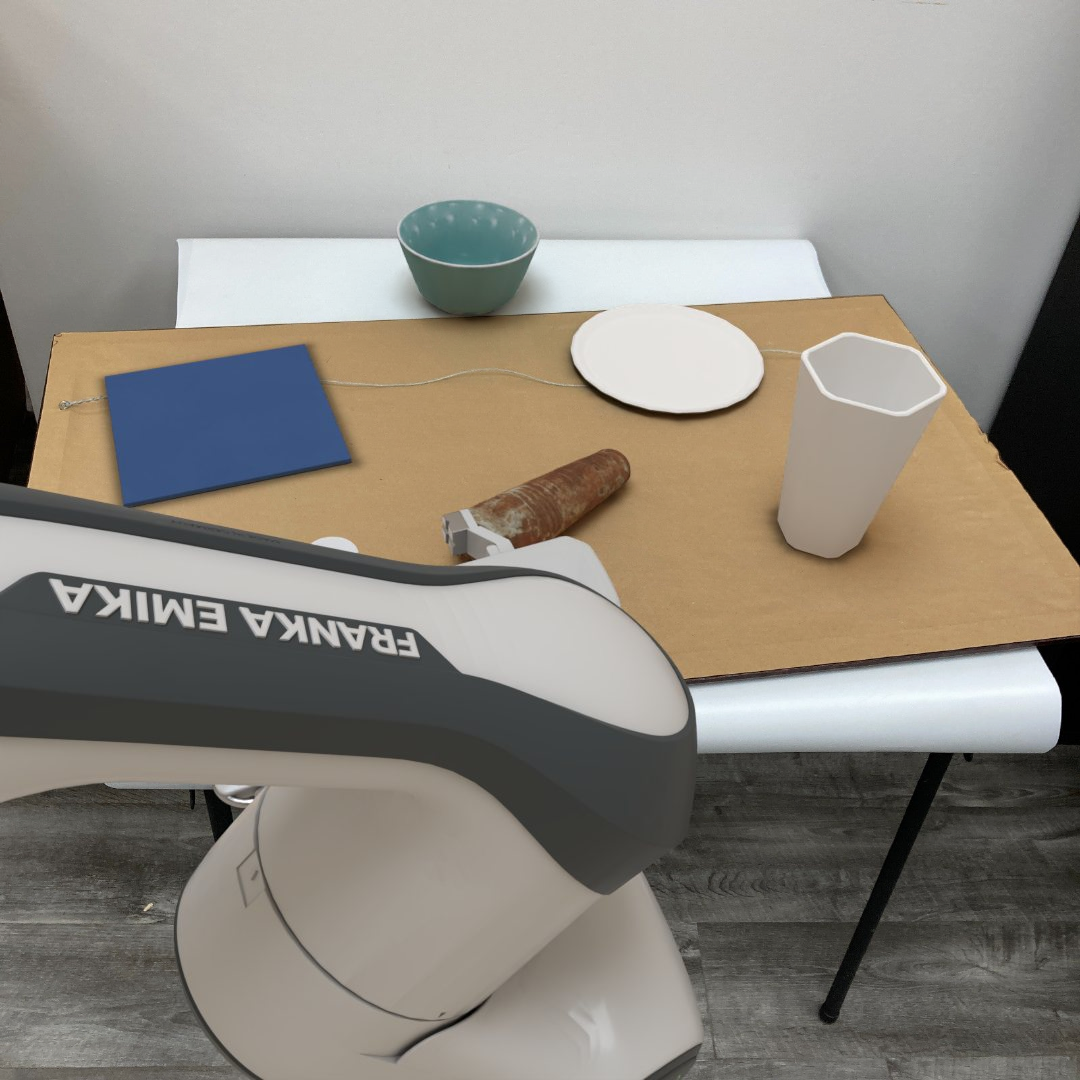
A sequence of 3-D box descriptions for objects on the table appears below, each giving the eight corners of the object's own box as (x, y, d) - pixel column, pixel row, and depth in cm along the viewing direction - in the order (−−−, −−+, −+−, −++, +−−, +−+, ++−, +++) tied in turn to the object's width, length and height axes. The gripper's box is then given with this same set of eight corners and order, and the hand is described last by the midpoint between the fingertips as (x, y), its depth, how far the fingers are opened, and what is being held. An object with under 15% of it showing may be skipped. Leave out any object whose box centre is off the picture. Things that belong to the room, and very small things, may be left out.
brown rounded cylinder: (443, 555, 83) (442, 506, 79) (600, 464, 93) (606, 416, 89) (491, 597, 80) (493, 548, 76) (649, 498, 90) (657, 450, 86)
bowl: (550, 275, 118) (554, 210, 112) (516, 344, 107) (519, 275, 101) (426, 253, 120) (424, 188, 114) (380, 318, 109) (375, 250, 103)
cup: (888, 513, 90) (953, 356, 78) (872, 586, 83) (941, 426, 71) (768, 479, 92) (814, 321, 81) (744, 547, 86) (789, 386, 74)
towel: (124, 508, 85) (123, 504, 84) (105, 380, 98) (104, 376, 97) (351, 462, 91) (351, 458, 91) (305, 347, 104) (304, 343, 104)
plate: (751, 438, 97) (754, 428, 96) (548, 397, 100) (549, 387, 99) (771, 330, 111) (773, 321, 111) (593, 297, 115) (594, 288, 114)
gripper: (234, 864, 42) (180, 634, 51) (652, 718, 49) (540, 537, 57) (206, 784, 38) (153, 547, 46) (670, 636, 44) (546, 454, 53)
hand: (370, 541), depth 52 cm, fingers open, 8 cm apart
